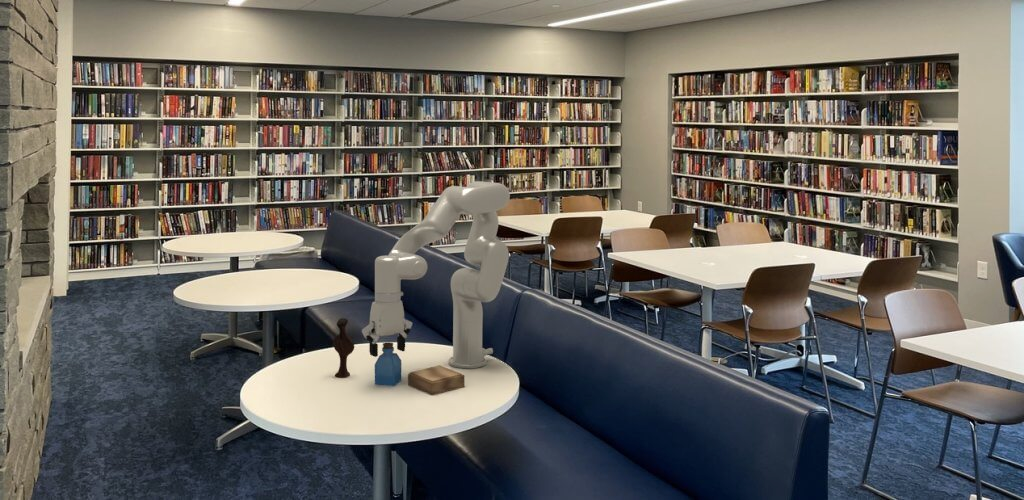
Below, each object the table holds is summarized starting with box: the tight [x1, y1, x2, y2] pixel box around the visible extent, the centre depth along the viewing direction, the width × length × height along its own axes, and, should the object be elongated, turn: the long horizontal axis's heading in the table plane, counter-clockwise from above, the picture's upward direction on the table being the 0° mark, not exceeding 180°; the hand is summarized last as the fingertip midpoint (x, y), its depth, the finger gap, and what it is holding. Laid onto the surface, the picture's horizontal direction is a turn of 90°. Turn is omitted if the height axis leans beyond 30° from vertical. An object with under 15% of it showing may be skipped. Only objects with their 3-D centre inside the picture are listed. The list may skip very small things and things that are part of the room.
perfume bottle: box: [374, 341, 402, 387], centre depth 238 cm, size 6×6×12 cm
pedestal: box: [407, 365, 465, 396], centre depth 236 cm, size 12×12×4 cm
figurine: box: [332, 317, 355, 379], centre depth 243 cm, size 7×5×18 cm
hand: (387, 353), depth 237 cm, fingers open, 9 cm apart
